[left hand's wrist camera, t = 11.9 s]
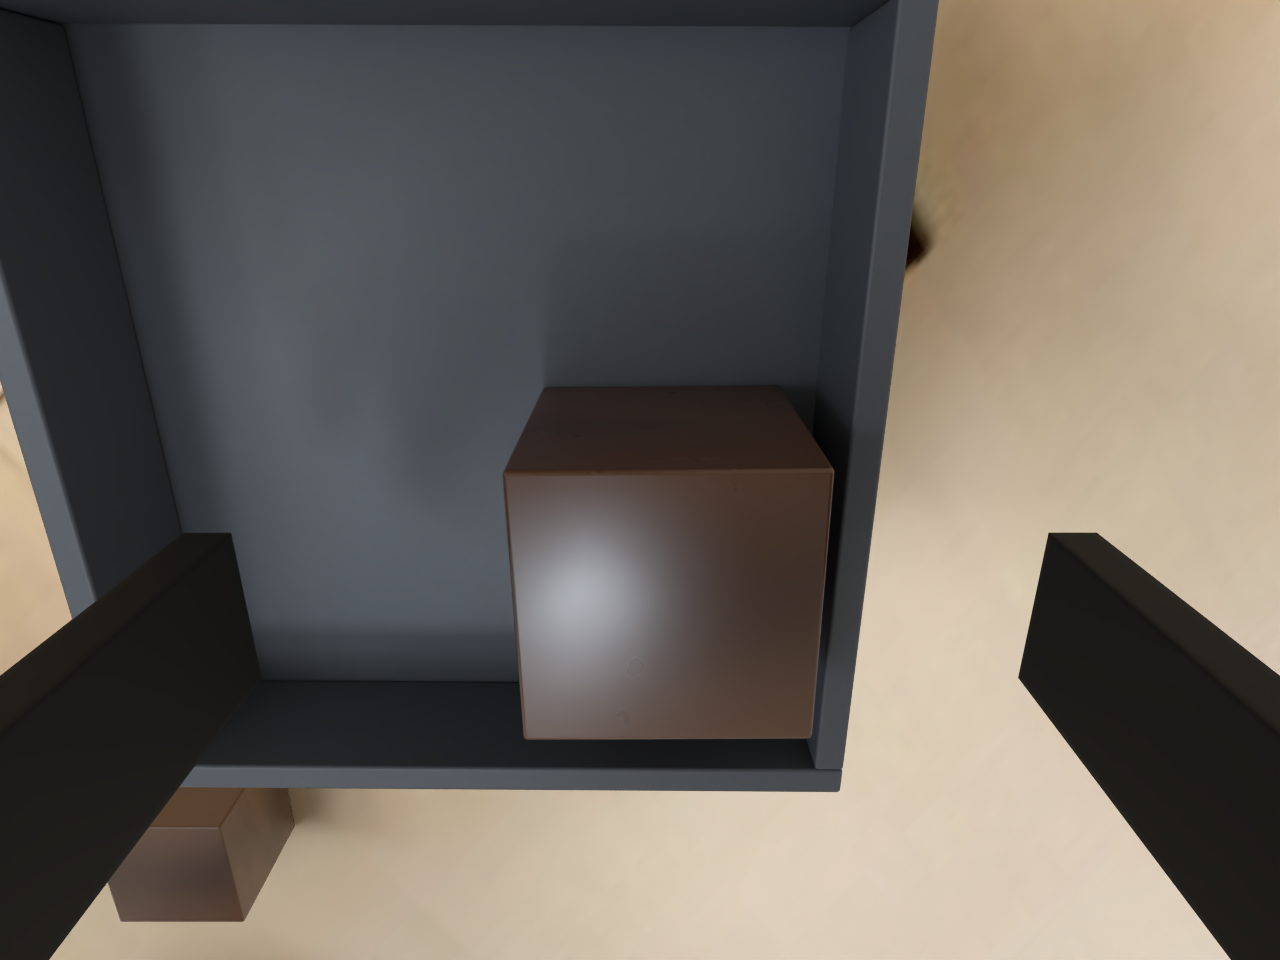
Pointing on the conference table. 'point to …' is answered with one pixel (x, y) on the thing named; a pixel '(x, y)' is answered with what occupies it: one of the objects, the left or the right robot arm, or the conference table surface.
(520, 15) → the tray
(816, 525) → the cube
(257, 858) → the cube
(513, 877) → the conference table surface
